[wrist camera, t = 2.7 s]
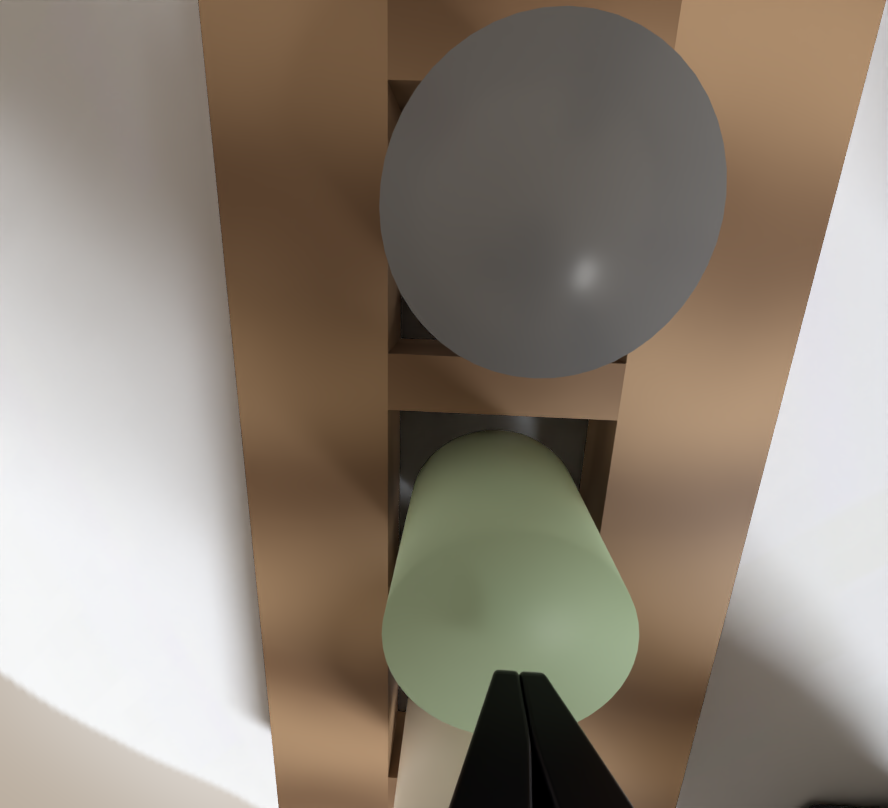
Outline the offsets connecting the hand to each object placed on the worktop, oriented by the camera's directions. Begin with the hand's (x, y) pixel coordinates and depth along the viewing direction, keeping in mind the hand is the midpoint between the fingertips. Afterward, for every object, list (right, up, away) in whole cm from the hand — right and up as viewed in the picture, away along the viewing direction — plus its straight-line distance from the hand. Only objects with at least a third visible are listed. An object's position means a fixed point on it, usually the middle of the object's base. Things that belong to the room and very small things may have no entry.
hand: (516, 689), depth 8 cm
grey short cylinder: (+1, +9, +3) cm, 10 cm away
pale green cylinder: (0, +2, +6) cm, 6 cm away
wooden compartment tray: (0, +2, +8) cm, 8 cm away
